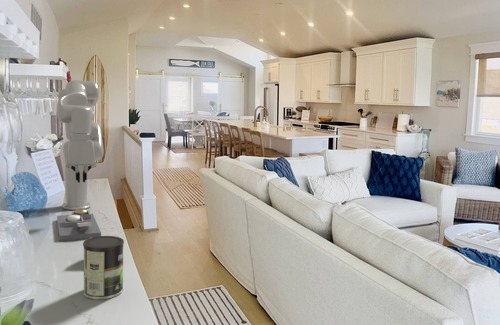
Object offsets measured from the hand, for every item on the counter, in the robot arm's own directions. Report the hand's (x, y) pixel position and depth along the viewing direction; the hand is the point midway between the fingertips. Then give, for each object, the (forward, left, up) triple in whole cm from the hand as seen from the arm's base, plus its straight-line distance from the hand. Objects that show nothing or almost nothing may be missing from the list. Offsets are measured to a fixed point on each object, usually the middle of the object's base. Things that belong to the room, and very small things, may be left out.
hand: (81, 181), depth 174 cm
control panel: (+9, -2, -17) cm, 19 cm away
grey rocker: (+18, 0, -14) cm, 23 cm away
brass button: (0, 0, -14) cm, 14 cm away
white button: (+9, -3, -14) cm, 17 cm away
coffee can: (+69, 0, -17) cm, 71 cm away
